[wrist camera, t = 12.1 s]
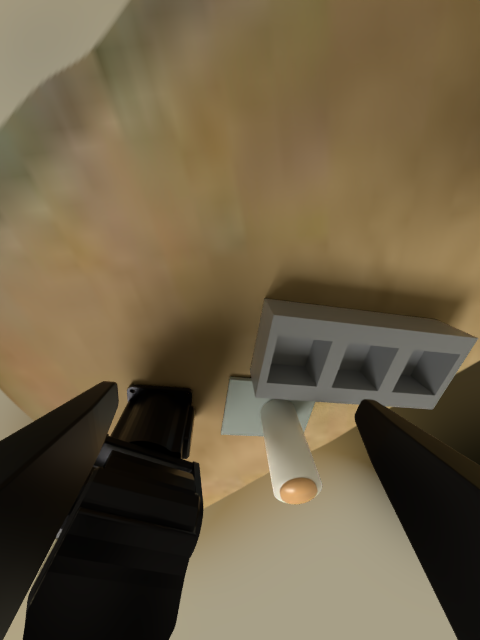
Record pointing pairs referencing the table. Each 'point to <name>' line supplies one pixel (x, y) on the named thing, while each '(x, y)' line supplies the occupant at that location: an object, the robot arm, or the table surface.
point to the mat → (252, 409)
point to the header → (354, 355)
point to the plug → (288, 454)
